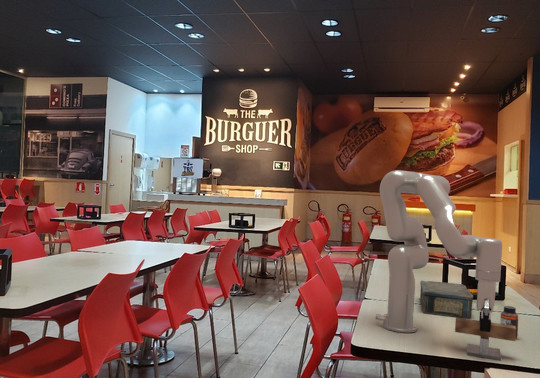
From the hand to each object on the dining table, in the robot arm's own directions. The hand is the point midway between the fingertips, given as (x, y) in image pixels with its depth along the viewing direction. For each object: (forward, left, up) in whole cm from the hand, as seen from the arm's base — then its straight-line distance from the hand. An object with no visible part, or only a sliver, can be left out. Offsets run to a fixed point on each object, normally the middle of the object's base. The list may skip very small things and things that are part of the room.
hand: (484, 327), depth 161 cm
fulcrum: (0, 0, -8) cm, 8 cm away
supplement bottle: (+9, +27, -9) cm, 30 cm away
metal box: (-16, +63, -9) cm, 66 cm away
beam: (0, 0, -2) cm, 2 cm away
